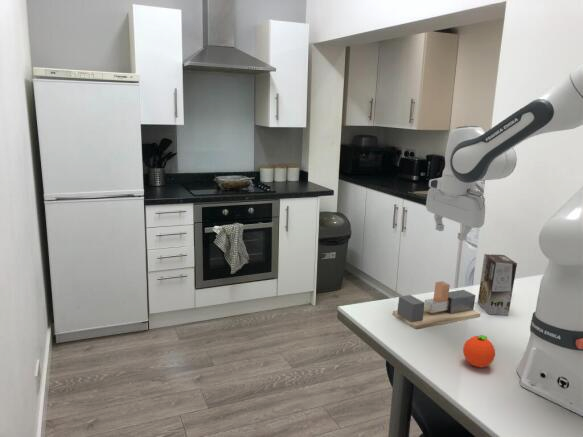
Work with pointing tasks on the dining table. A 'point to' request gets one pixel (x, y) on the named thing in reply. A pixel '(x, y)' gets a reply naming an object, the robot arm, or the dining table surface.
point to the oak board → (439, 318)
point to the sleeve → (461, 301)
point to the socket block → (410, 308)
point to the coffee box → (496, 284)
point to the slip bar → (439, 298)
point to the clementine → (479, 351)
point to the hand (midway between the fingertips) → (450, 235)
